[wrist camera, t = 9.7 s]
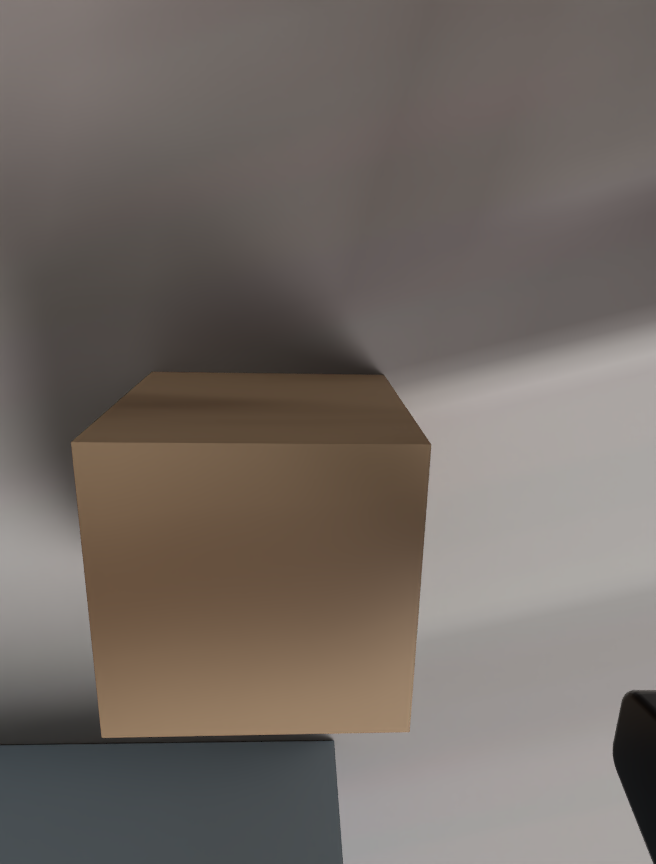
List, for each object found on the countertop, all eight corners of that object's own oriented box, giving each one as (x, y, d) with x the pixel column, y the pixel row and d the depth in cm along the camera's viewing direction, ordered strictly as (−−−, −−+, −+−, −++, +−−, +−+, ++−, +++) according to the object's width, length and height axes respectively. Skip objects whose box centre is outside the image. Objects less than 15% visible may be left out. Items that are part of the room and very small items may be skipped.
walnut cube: (373, 576, 15) (409, 731, 10) (165, 577, 15) (102, 737, 10) (383, 373, 13) (431, 444, 9) (152, 371, 13) (70, 442, 8)
